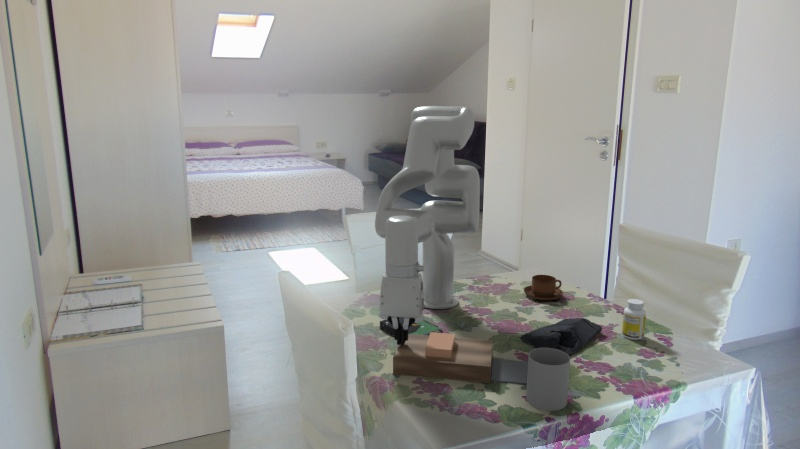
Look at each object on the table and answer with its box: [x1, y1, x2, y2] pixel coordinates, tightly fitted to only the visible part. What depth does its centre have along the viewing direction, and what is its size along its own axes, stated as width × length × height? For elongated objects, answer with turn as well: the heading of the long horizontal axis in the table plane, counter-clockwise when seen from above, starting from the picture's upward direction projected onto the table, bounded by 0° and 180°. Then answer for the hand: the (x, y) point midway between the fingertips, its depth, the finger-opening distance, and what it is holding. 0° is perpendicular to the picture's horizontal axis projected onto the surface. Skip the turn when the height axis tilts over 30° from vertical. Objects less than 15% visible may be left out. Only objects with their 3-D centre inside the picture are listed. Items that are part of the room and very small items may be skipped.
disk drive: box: [379, 317, 444, 337], centre depth 157 cm, size 10×3×15 cm
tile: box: [425, 332, 456, 358], centre depth 138 cm, size 9×6×2 cm, turn 169°
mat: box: [490, 357, 528, 385], centre depth 135 cm, size 11×12×1 cm
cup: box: [525, 348, 571, 412], centre depth 122 cm, size 8×8×10 cm
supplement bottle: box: [621, 298, 647, 341], centre depth 154 cm, size 5×5×10 cm
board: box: [392, 334, 494, 384], centre depth 138 cm, size 14×22×4 cm, turn 79°
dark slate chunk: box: [519, 317, 603, 357], centre depth 153 cm, size 15×22×5 cm
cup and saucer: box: [523, 274, 564, 301], centre depth 184 cm, size 12×12×6 cm
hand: (401, 342), depth 140 cm, fingers closed
